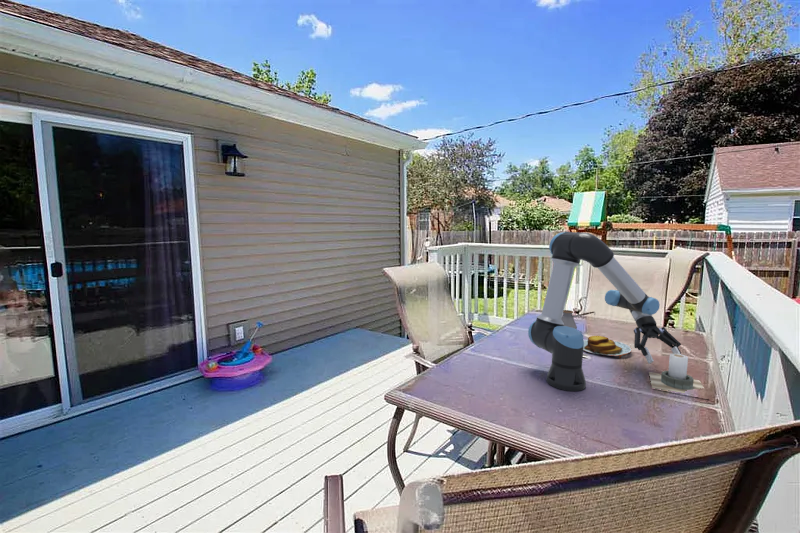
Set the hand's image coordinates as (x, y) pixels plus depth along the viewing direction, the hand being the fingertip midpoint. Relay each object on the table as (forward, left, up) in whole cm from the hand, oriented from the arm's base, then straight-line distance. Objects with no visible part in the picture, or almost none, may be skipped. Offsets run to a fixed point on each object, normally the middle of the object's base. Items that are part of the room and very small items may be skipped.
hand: (666, 362), depth 157 cm
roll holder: (-5, -3, -8) cm, 10 cm away
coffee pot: (+57, +41, -8) cm, 70 cm away
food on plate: (+29, +24, -8) cm, 39 cm away
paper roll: (-5, -3, -7) cm, 9 cm away
